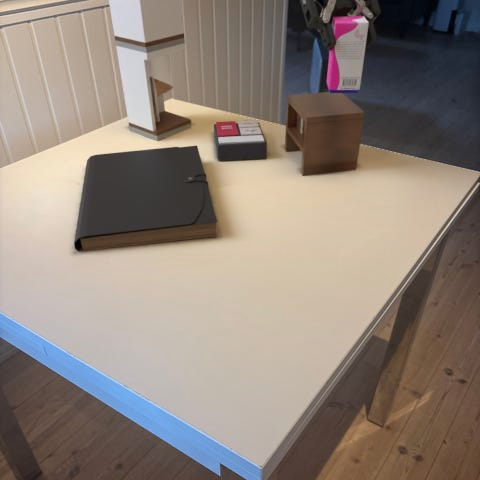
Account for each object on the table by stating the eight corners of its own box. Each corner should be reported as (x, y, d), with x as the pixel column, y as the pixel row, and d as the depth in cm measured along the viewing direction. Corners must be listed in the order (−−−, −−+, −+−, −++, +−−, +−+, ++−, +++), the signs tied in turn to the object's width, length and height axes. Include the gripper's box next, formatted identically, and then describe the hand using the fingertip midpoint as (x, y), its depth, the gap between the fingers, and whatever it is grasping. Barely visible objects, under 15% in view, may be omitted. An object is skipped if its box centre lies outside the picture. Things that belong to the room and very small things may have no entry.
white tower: (157, 140, 118) (135, -38, 95) (129, 130, 123) (102, -41, 100) (191, 127, 124) (178, -43, 101) (163, 118, 130) (144, -46, 106)
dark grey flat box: (258, 118, 118) (267, 139, 106) (258, 136, 121) (266, 158, 109) (213, 120, 117) (217, 141, 106) (214, 138, 120) (217, 161, 108)
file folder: (218, 219, 82) (71, 236, 79) (219, 240, 84) (77, 257, 82) (197, 143, 106) (85, 154, 103) (199, 161, 109) (89, 172, 106)
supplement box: (355, 83, 94) (365, 15, 87) (359, 93, 90) (370, 22, 82) (325, 83, 95) (332, 15, 87) (327, 93, 90) (335, 22, 82)
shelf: (333, 144, 115) (339, 90, 107) (356, 169, 105) (365, 112, 97) (284, 149, 113) (287, 95, 105) (302, 175, 103) (307, 117, 95)
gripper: (298, -59, 81) (325, 36, 81) (371, -63, 85) (398, 27, 85) (282, -24, 88) (307, 62, 88) (351, -29, 92) (375, 54, 92)
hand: (351, 45), depth 86 cm, fingers closed on supplement box, 7 cm apart
